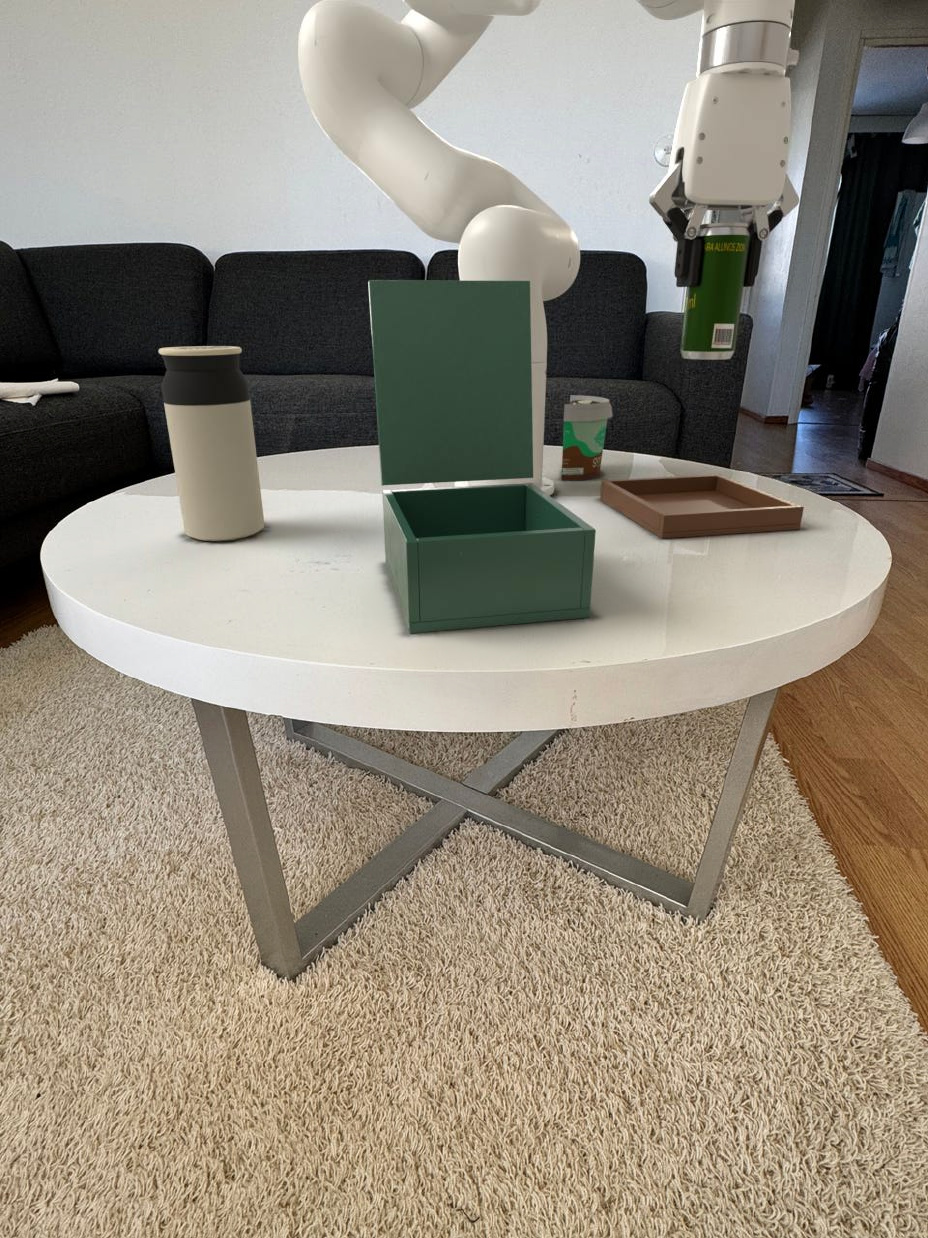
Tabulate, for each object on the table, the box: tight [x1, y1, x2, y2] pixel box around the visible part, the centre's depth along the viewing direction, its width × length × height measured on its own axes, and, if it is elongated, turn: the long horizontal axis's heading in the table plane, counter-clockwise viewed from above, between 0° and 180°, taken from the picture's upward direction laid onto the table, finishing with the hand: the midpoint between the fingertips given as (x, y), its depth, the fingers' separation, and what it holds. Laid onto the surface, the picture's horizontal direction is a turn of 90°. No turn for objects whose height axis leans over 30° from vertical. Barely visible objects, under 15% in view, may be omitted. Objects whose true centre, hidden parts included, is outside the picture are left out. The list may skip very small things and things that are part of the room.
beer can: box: [679, 222, 750, 361], centre depth 71 cm, size 5×5×12 cm
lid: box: [367, 279, 533, 486], centre depth 64 cm, size 16×14×5 cm
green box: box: [381, 483, 597, 634], centre depth 58 cm, size 16×14×7 cm
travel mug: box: [157, 345, 265, 542], centre depth 72 cm, size 8×8×18 cm
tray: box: [599, 473, 805, 540], centre depth 81 cm, size 17×16×2 cm
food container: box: [560, 394, 613, 481], centre depth 99 cm, size 12×6×10 cm, turn 168°
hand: (714, 284), depth 71 cm, fingers closed on beer can, 5 cm apart
